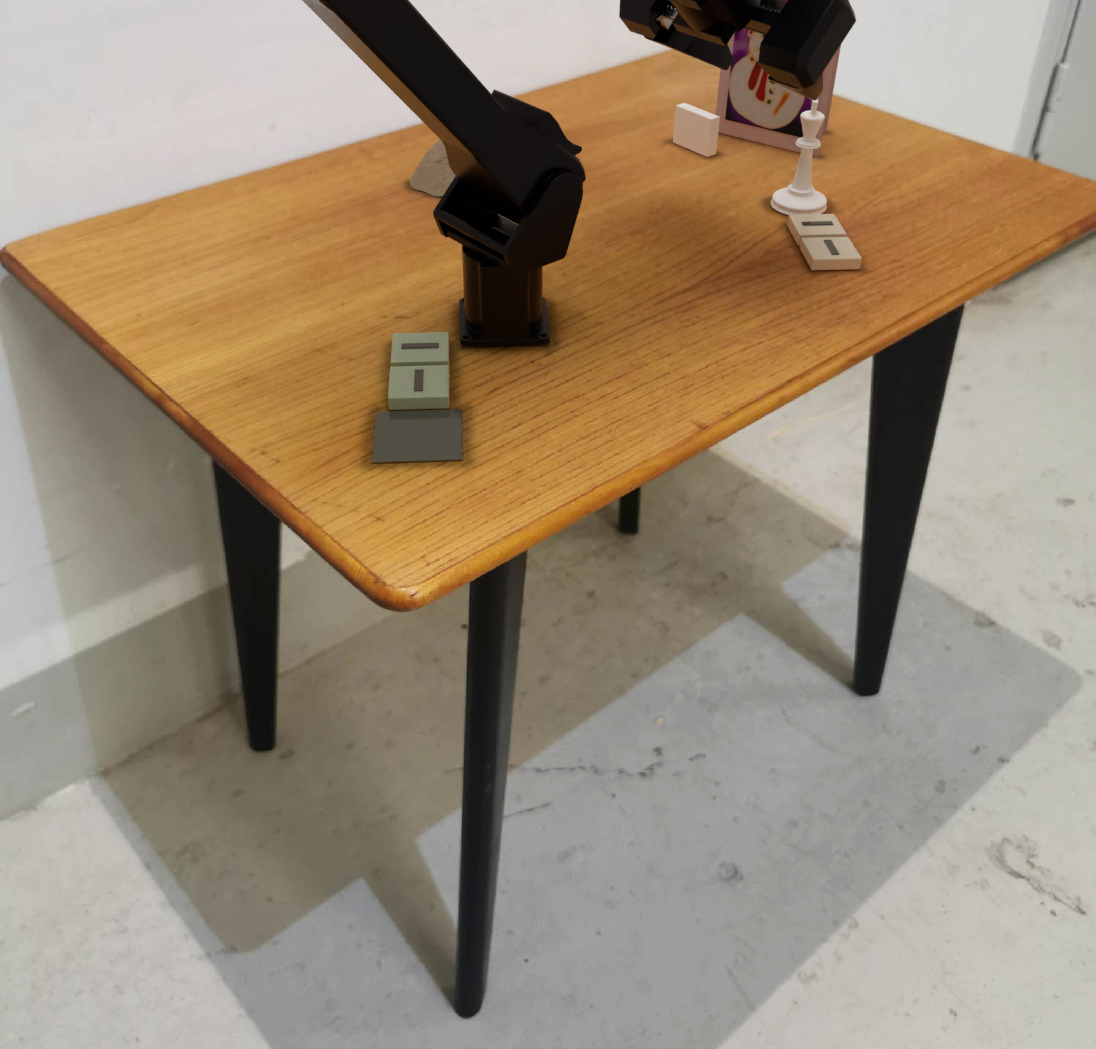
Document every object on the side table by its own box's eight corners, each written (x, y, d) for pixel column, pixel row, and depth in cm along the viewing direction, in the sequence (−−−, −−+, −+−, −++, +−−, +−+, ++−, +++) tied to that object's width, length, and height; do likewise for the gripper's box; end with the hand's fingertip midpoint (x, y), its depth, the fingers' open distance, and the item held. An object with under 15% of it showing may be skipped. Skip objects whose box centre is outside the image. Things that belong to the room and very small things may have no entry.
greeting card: (709, 134, 113) (726, -28, 104) (743, 113, 118) (762, -43, 108) (814, 159, 108) (841, -7, 99) (845, 136, 113) (874, -25, 104)
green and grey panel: (462, 460, 70) (461, 445, 69) (371, 463, 69) (370, 448, 69) (460, 343, 81) (460, 329, 80) (382, 345, 81) (381, 331, 80)
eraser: (707, 157, 109) (710, 119, 106) (672, 142, 112) (675, 105, 109) (716, 154, 109) (720, 116, 107) (681, 139, 112) (684, 102, 110)
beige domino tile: (860, 269, 90) (862, 257, 90) (811, 270, 90) (813, 258, 90) (832, 224, 97) (834, 212, 96) (786, 225, 97) (788, 213, 96)
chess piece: (770, 214, 98) (786, 99, 92) (770, 192, 102) (786, 80, 96) (827, 219, 98) (847, 103, 91) (825, 196, 102) (845, 83, 95)
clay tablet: (495, 210, 99) (494, 180, 97) (402, 185, 103) (400, 156, 101) (577, 157, 108) (577, 129, 106) (489, 136, 112) (488, 109, 110)
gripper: (865, -138, 70) (929, 16, 83) (655, -175, 81) (740, -34, 94) (765, 18, 71) (844, 147, 84) (571, -39, 82) (667, 83, 95)
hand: (771, 79), depth 89 cm, fingers open, 9 cm apart
